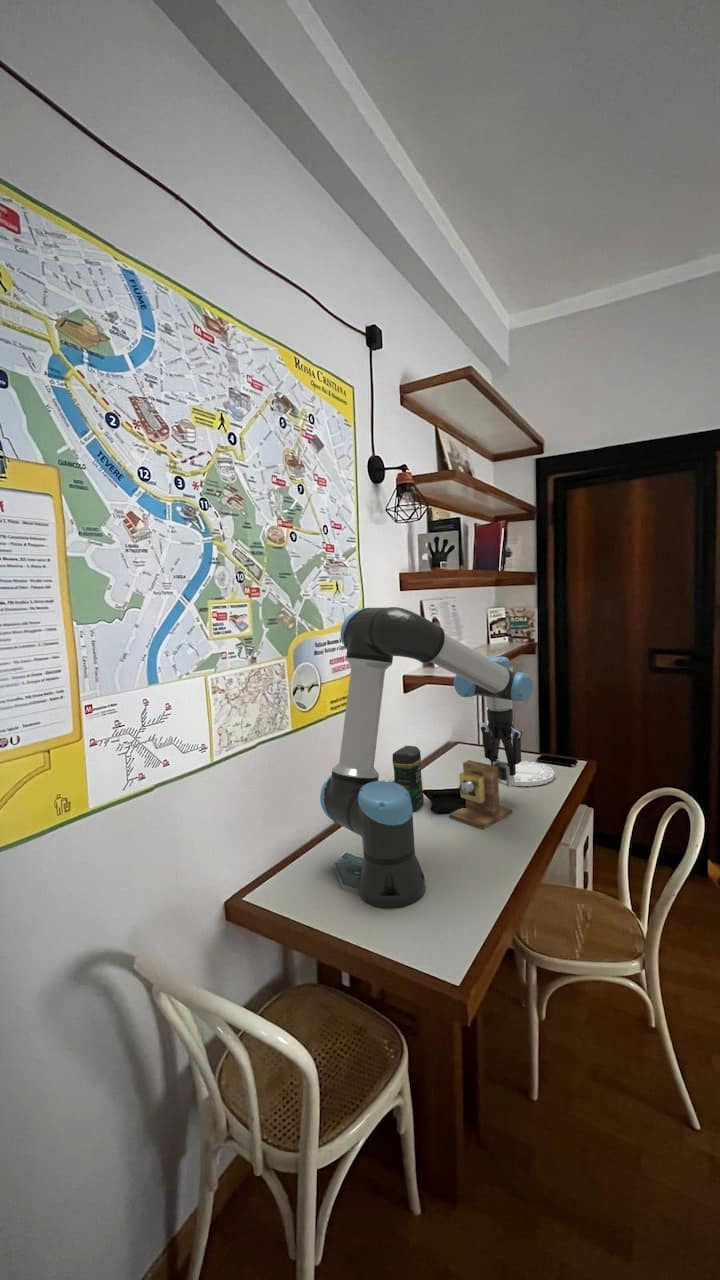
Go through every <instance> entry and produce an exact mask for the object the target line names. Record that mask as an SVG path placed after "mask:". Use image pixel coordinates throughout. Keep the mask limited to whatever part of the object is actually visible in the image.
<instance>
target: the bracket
mask: <svg viewBox="0 0 720 1280" xmlns="http://www.w3.org/2000/svg"><path fill="white" fill-rule="evenodd" d="M462 769H463V772H469V773H472V774H476V775H480V776H484V782H485V798H486V801H484V802H482V803H478V802H475V801H471V800H468V799H465V798H464V799H465V806H466V808H462V807H461V809H460V808H459V809H456V810H453V811H452V812H450V813H448V817H449V819H451V820H454V821H458V822H459V823H463V824H464V825H465V824H466V825H469V826H471V827H474V828H477V829H480V830H484V829H487V828H489V827H490V826H493V825H494V824H496V823H497V822H499V821H501V820H503V819H505V818H506V817H508V816H510V815H512V814H513V808H509V807H506V806H503V805H501V804H500V792H499V791H500V789H499V788H500V787H499V782H498V771H497V766H492V765H491V764H487V763H482V762H480V761H475V760H470V759H469V760H466V761H464V762H462ZM472 792H475V790H474V791H472Z"/></svg>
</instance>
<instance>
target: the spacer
mask: <svg viewBox="0 0 720 1280" xmlns="http://www.w3.org/2000/svg"><path fill="white" fill-rule="evenodd" d="M458 777H459V786H460V785H461V784H463V783H465V782H467V781H469V782H473V783H475V792H470V793H468V794H466V795H463V794H462V793H461V792H460V791H459V792H460V798H462V799H468V800H471V801H475V802H478V803H482V802H484V801H486V798H485V782H484V776H480V775H476V774H472V773H469V772H464V771H463V772H461V773H458Z"/></svg>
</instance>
